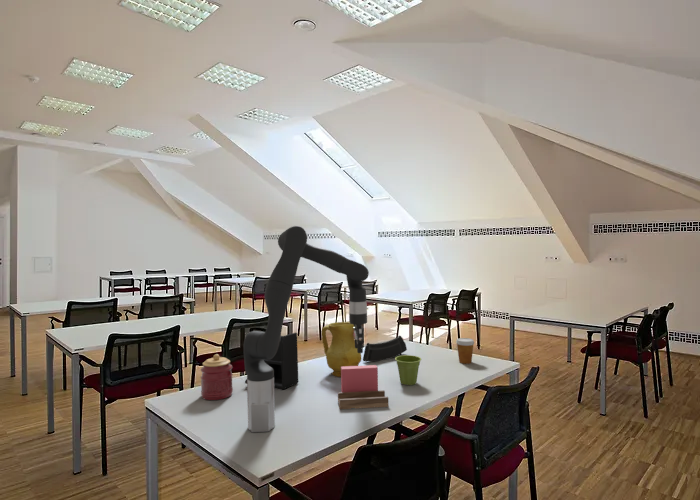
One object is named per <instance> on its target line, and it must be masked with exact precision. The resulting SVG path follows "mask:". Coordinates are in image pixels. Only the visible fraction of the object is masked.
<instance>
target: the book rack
mask: <svg viewBox="0 0 700 500" xmlns="http://www.w3.org/2000/svg"><path fill="white" fill-rule="evenodd" d="M385 393H386V390H381V389H380V390H378V391H360V392H341V391H340V392H337V401H338V402H337V403H338V407H339V410H350V409H351V408H355V409H366V408H367V409H370V408H373V409H374V408H386V407H387V408H389V397H388V396H386V394H385ZM351 410H352V409H351Z"/></svg>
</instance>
